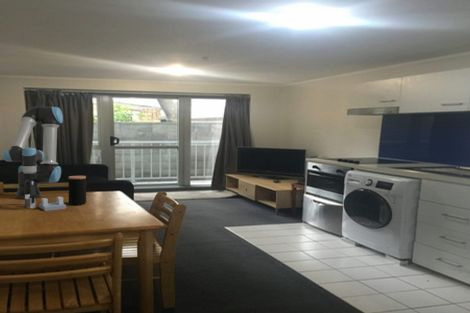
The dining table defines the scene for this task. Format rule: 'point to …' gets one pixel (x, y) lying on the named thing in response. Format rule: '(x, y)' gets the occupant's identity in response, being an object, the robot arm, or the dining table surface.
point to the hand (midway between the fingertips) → (30, 206)
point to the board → (52, 204)
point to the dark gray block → (28, 203)
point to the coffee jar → (77, 190)
